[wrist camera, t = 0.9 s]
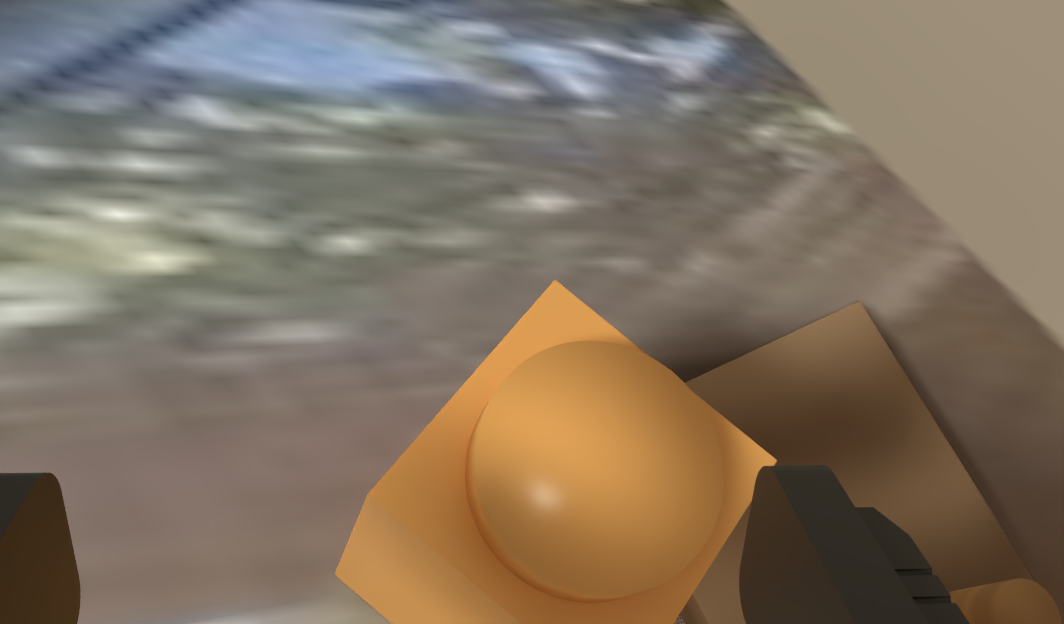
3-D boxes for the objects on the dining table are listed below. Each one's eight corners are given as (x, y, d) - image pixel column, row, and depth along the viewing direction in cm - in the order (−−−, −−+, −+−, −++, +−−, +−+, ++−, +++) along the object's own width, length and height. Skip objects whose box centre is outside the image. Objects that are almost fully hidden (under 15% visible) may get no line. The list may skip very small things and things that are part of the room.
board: (587, 434, 31) (659, 368, 25) (837, 316, 35) (948, 237, 29) (888, 1009, 27) (1059, 1089, 21) (1133, 796, 31) (1332, 814, 25)
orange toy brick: (334, 574, 28) (373, 479, 17) (463, 422, 30) (570, 255, 19) (495, 711, 27) (643, 706, 16) (611, 545, 30) (806, 445, 19)
